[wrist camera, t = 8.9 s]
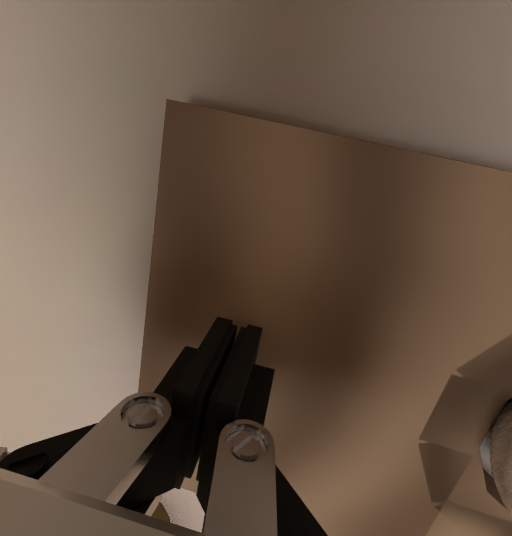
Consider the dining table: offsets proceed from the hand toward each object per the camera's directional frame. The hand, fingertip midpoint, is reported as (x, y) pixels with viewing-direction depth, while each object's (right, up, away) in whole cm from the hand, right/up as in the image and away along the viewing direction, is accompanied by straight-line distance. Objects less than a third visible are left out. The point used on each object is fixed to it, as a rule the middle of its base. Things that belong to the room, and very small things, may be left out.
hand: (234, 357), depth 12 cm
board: (+8, -2, +1) cm, 9 cm away
